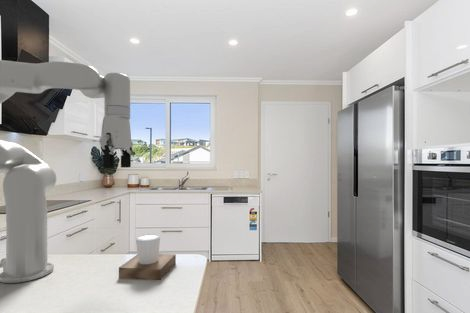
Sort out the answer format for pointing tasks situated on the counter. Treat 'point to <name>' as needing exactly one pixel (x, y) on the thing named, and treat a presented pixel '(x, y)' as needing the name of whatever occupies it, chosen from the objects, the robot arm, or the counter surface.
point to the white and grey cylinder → (148, 248)
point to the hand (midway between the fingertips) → (117, 167)
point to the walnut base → (147, 268)
